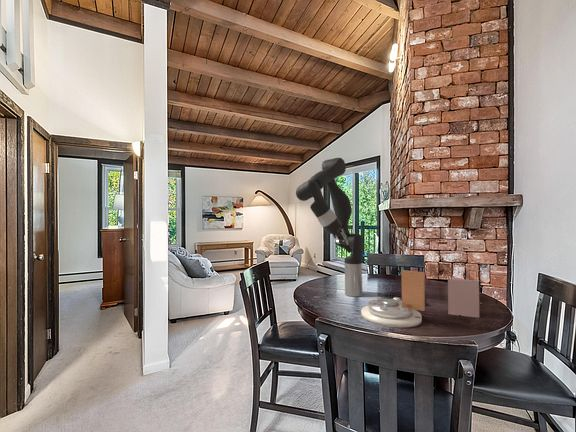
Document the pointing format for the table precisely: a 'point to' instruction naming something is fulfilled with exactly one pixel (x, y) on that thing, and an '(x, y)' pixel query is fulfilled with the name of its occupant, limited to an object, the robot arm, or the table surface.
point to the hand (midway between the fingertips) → (350, 251)
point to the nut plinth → (387, 322)
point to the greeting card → (463, 297)
